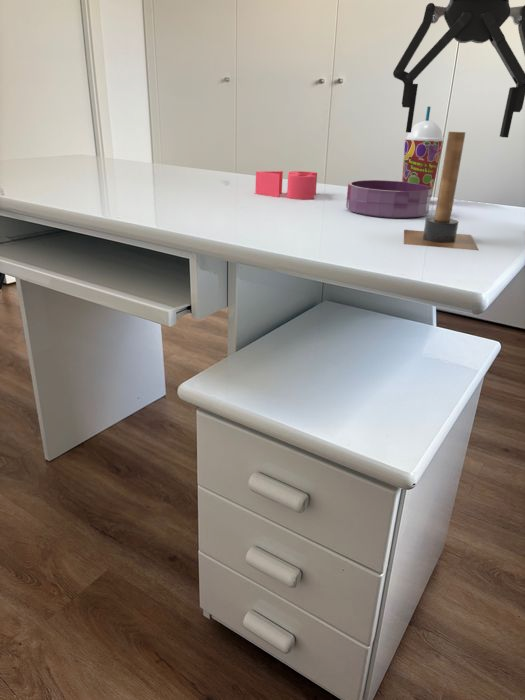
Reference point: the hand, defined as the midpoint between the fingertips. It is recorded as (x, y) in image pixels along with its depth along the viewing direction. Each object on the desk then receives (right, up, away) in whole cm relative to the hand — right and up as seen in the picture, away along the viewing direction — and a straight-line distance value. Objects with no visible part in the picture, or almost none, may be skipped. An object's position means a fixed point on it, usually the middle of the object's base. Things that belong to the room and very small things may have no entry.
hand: (455, 134), depth 80 cm
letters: (-23, +4, +47) cm, 53 cm away
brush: (0, -14, +7) cm, 16 cm away
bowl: (-4, -4, +29) cm, 29 cm away
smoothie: (+7, +2, +44) cm, 44 cm away
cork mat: (0, -15, +7) cm, 16 cm away
